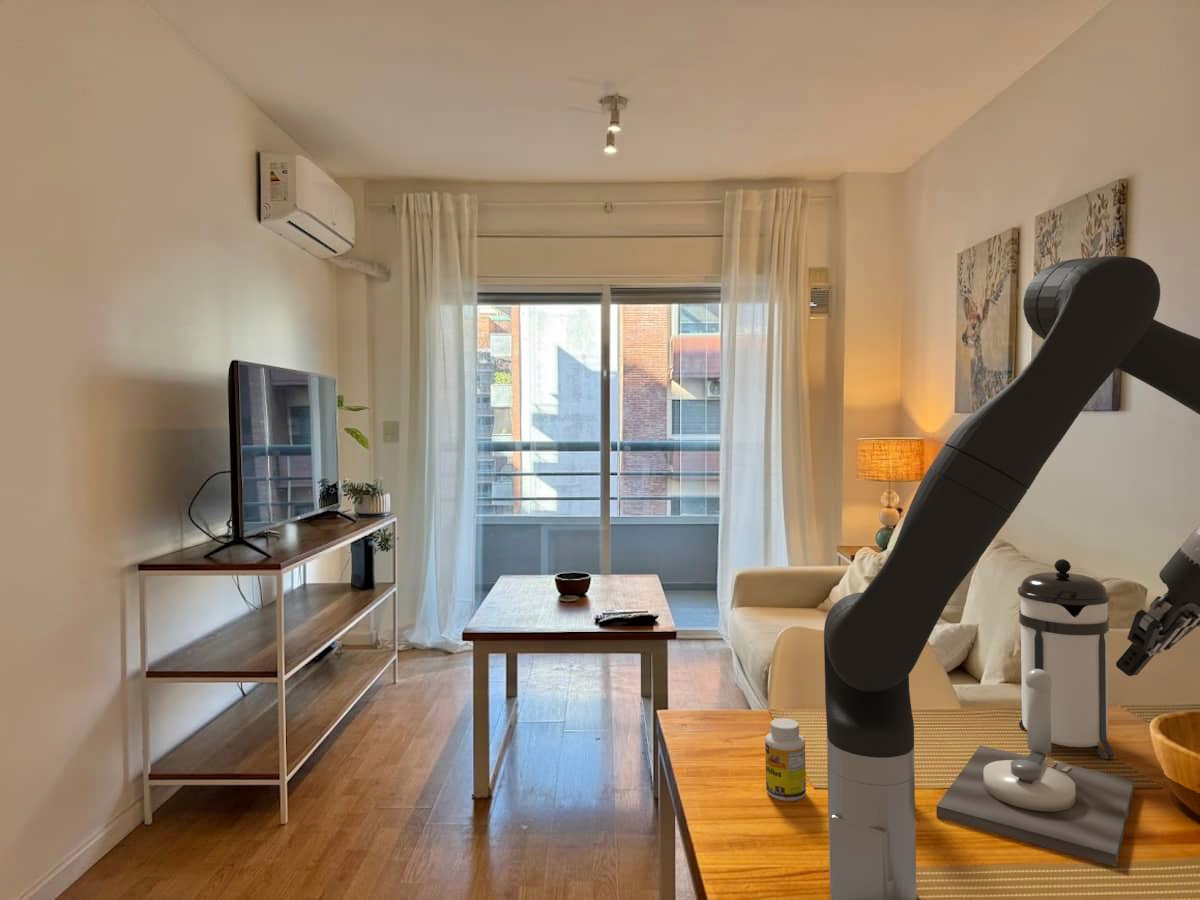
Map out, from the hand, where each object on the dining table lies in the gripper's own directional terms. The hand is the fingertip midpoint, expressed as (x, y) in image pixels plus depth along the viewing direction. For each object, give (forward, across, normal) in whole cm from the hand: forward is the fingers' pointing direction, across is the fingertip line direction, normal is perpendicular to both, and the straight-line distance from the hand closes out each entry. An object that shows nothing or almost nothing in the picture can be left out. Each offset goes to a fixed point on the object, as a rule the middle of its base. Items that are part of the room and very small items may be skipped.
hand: (1125, 670), depth 98 cm
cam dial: (+22, +1, 0) cm, 22 cm away
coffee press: (+26, +24, +7) cm, 36 cm away
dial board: (+23, +1, -2) cm, 23 cm away
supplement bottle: (+37, -25, +15) cm, 47 cm away
